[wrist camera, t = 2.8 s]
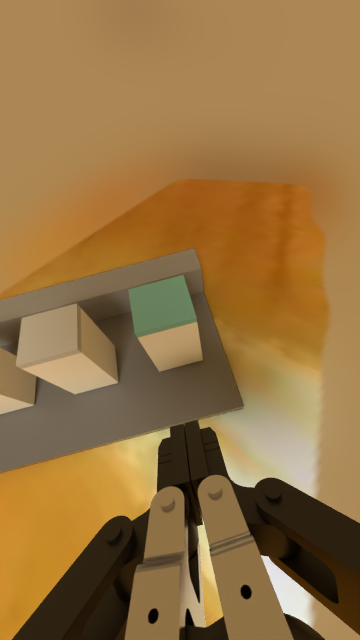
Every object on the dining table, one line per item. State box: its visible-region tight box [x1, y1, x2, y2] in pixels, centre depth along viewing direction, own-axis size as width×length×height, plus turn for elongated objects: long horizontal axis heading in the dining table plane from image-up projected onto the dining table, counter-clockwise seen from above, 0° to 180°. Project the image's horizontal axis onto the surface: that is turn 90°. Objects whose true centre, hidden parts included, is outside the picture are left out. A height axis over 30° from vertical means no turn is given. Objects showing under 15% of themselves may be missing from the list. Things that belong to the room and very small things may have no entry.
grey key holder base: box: [0, 248, 244, 473], centre depth 25 cm, size 26×16×5 cm, turn 103°
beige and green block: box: [128, 275, 203, 372], centre depth 22 cm, size 4×4×8 cm
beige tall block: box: [16, 303, 119, 394], centre depth 22 cm, size 4×4×8 cm
